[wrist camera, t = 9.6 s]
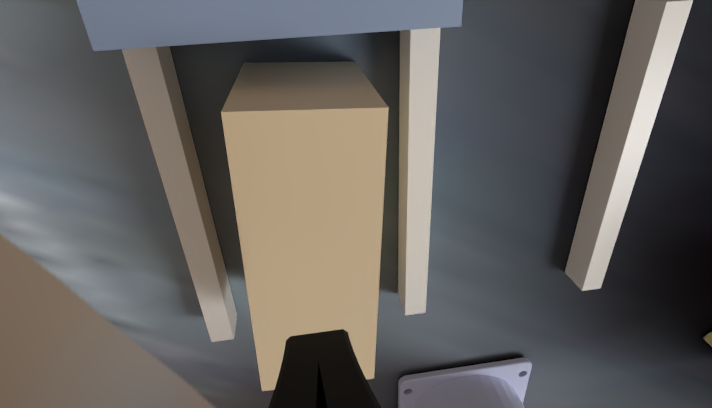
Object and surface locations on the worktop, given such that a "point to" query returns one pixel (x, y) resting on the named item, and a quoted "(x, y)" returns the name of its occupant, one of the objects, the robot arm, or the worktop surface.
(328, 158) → the tall tan wooden block
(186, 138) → the divider organiser
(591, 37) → the worktop surface
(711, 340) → the candy box
